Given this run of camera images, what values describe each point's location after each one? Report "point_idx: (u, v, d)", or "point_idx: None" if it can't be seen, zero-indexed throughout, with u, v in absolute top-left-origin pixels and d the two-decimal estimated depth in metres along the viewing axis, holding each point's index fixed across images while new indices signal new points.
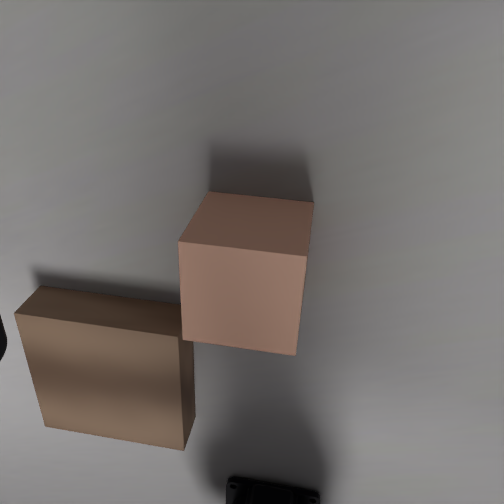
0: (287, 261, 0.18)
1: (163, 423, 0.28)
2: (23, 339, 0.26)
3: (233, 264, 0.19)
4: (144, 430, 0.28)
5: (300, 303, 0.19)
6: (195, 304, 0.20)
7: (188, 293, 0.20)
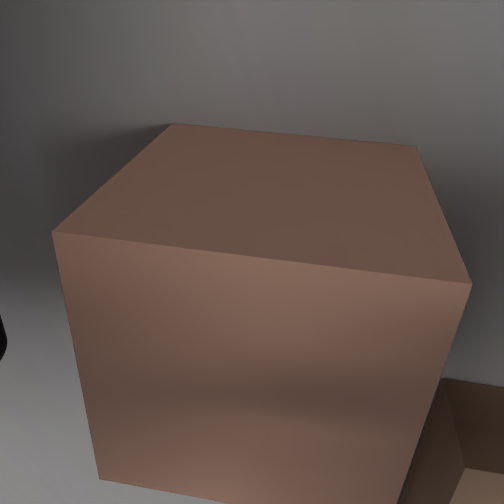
0: (81, 282, 0.06)
1: None
2: None
3: (129, 398, 0.07)
4: None
5: (225, 256, 0.06)
6: (267, 487, 0.08)
7: (234, 491, 0.08)
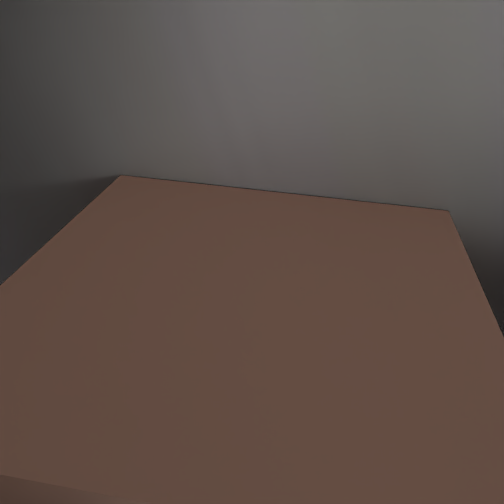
0: None
1: None
2: None
3: None
4: None
5: None
6: None
7: None
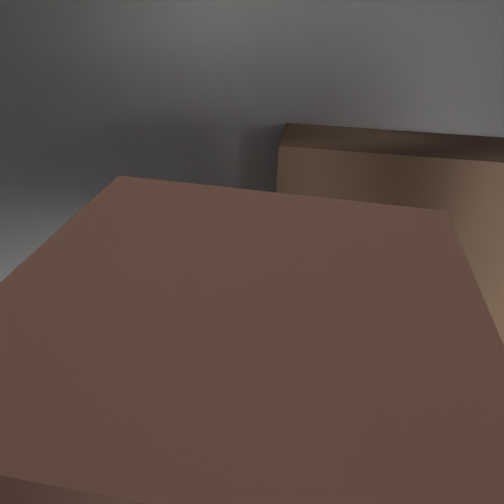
0: None
1: None
2: None
3: None
4: None
5: None
6: None
7: None
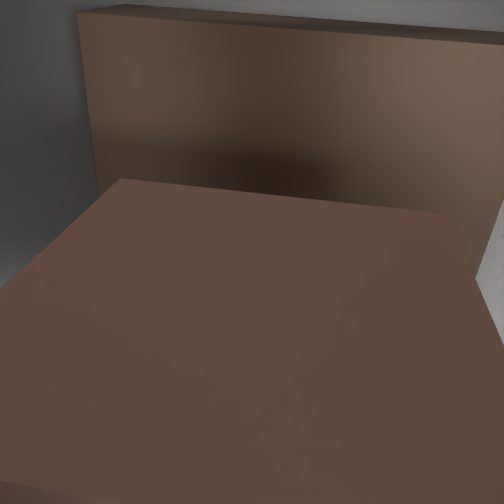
0: None
1: (416, 105, 0.09)
2: None
3: None
4: (447, 168, 0.10)
5: None
6: None
7: None
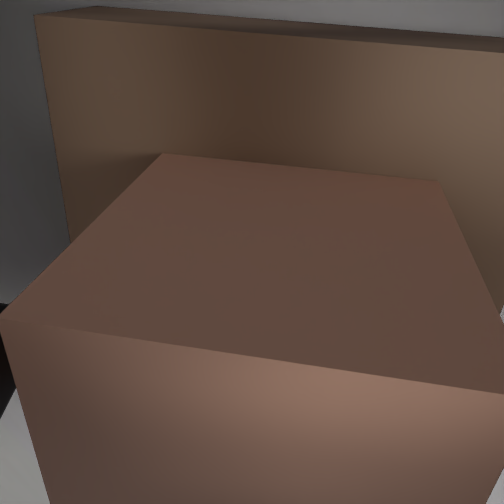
0: (38, 376, 0.05)
1: (434, 125, 0.08)
2: None
3: (102, 500, 0.06)
4: (467, 198, 0.08)
5: (216, 355, 0.04)
6: None
7: None
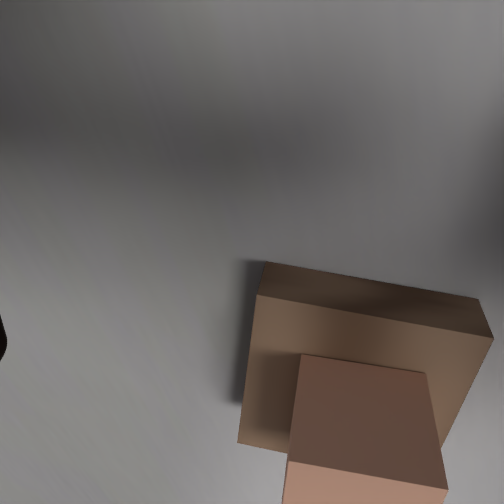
0: (295, 476, 0.16)
1: (426, 350, 0.19)
2: (274, 448, 0.23)
3: None
4: (440, 377, 0.19)
5: (357, 474, 0.15)
6: None
7: None
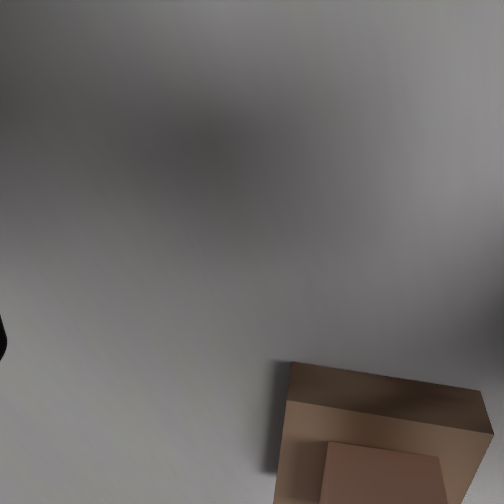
0: None
1: (436, 443, 0.21)
2: None
3: None
4: (449, 463, 0.22)
5: None
6: None
7: None
